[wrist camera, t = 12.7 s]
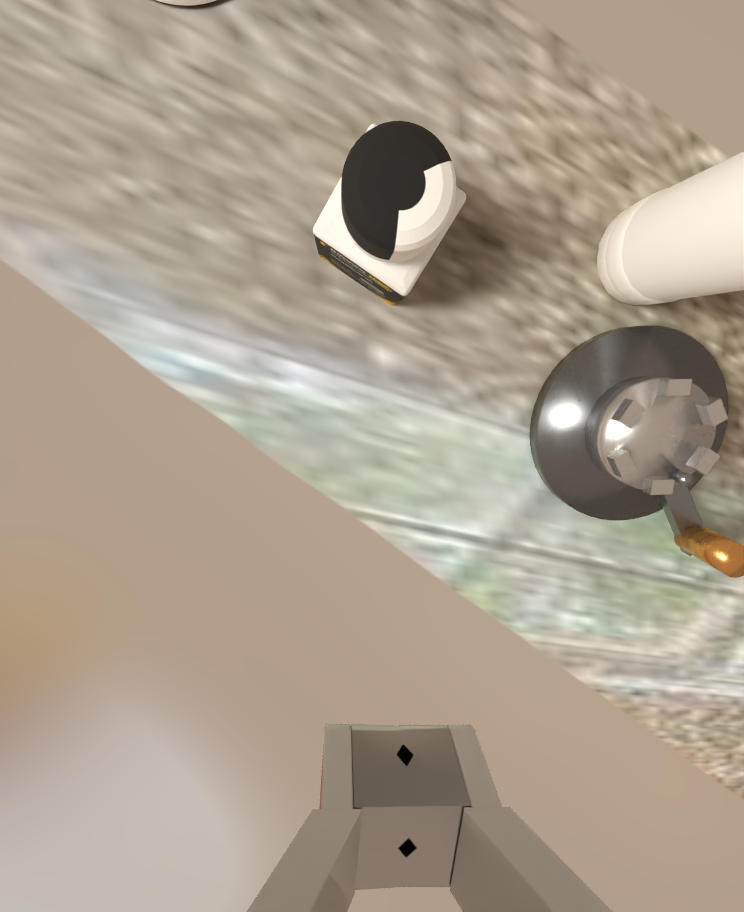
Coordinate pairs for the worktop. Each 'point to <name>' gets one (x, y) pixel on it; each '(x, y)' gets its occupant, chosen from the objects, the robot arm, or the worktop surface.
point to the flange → (580, 388)
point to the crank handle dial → (664, 454)
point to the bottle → (679, 240)
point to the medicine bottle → (389, 208)
